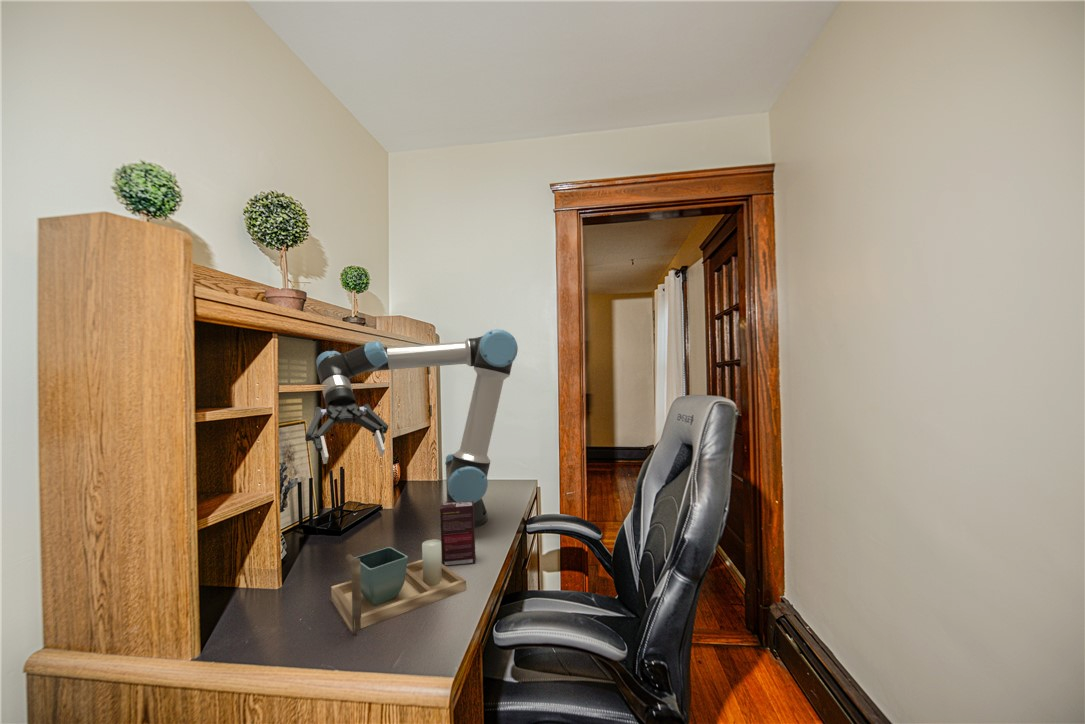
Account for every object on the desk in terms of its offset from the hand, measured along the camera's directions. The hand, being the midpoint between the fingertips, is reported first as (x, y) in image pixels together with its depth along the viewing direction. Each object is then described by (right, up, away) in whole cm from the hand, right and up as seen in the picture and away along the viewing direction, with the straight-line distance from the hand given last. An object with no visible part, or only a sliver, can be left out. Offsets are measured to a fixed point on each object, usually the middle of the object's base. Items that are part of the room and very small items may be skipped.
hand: (355, 456), depth 111 cm
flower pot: (+12, -28, -15) cm, 34 cm away
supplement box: (+25, -29, +4) cm, 39 cm away
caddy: (+15, -29, -12) cm, 35 cm away
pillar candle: (+21, -28, -7) cm, 36 cm away
